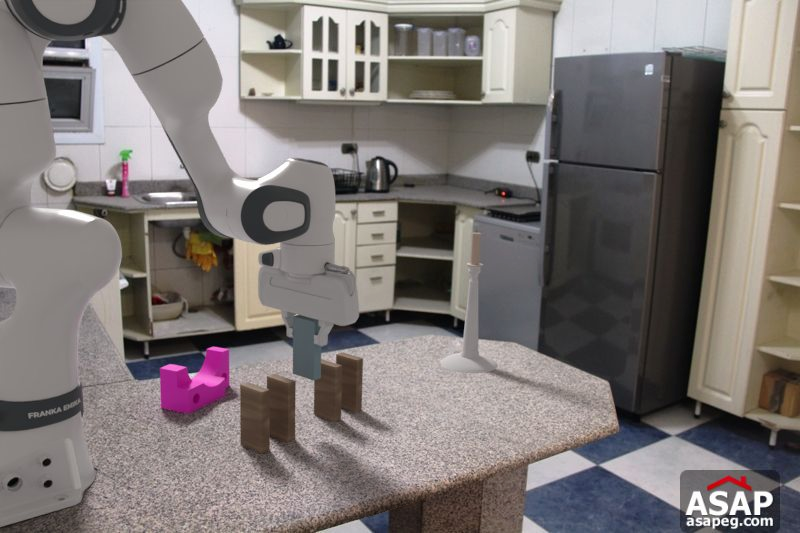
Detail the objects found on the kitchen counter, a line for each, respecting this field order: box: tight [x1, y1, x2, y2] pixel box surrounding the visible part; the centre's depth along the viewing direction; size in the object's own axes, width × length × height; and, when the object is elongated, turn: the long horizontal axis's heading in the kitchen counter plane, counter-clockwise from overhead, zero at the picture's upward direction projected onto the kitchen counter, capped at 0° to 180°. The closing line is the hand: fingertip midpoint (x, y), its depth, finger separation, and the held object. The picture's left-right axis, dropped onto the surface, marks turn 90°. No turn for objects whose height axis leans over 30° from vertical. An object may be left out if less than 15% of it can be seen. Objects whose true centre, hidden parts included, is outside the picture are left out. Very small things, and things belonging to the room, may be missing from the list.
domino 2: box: [266, 373, 297, 443], centre depth 118 cm, size 2×5×10 cm, turn 52°
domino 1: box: [239, 381, 271, 454], centre depth 114 cm, size 2×5×10 cm, turn 52°
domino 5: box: [335, 352, 364, 413], centre depth 131 cm, size 2×5×10 cm, turn 52°
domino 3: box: [292, 314, 322, 381], centre depth 121 cm, size 2×5×10 cm, turn 52°
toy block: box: [159, 346, 230, 414], centre depth 134 cm, size 15×6×8 cm, turn 157°
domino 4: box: [313, 358, 342, 423], centre depth 126 cm, size 2×5×10 cm, turn 52°
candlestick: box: [439, 230, 499, 374], centre depth 155 cm, size 13×13×30 cm
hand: (306, 340), depth 120 cm, fingers closed on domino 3, 5 cm apart
